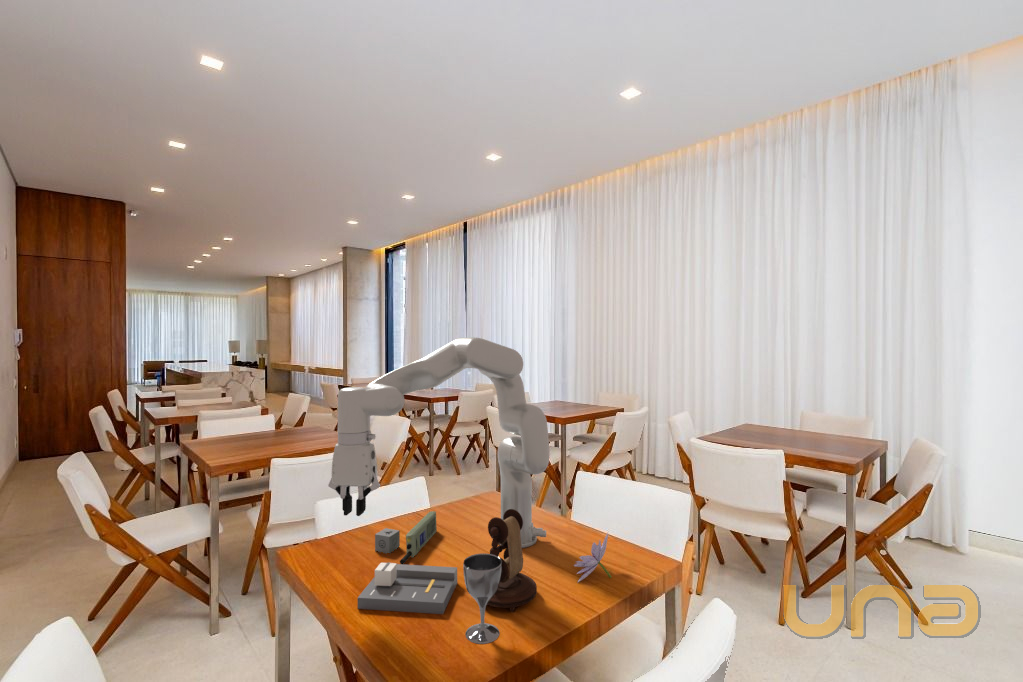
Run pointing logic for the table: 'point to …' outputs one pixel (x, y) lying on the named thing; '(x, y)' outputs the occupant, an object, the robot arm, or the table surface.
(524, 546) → the robot arm
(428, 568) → the console
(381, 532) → the dice cube
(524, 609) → the table surface
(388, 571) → the fader knob
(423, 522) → the handheld radio
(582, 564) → the water lily
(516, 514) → the scroll
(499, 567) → the wine glass
